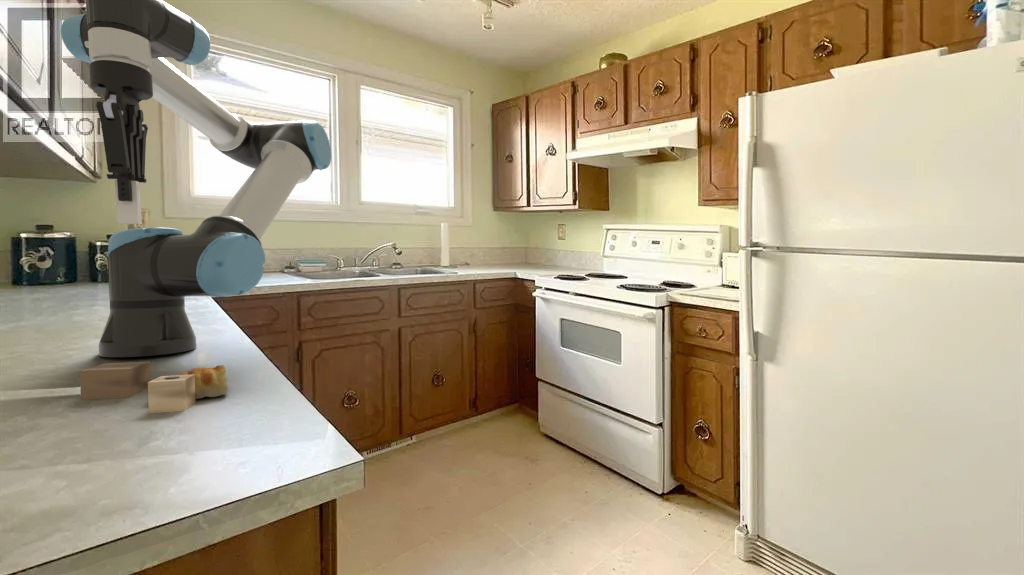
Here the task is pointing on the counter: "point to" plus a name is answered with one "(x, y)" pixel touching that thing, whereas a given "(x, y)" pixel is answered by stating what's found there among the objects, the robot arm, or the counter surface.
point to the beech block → (171, 393)
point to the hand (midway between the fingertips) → (129, 223)
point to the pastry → (209, 381)
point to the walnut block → (114, 380)
